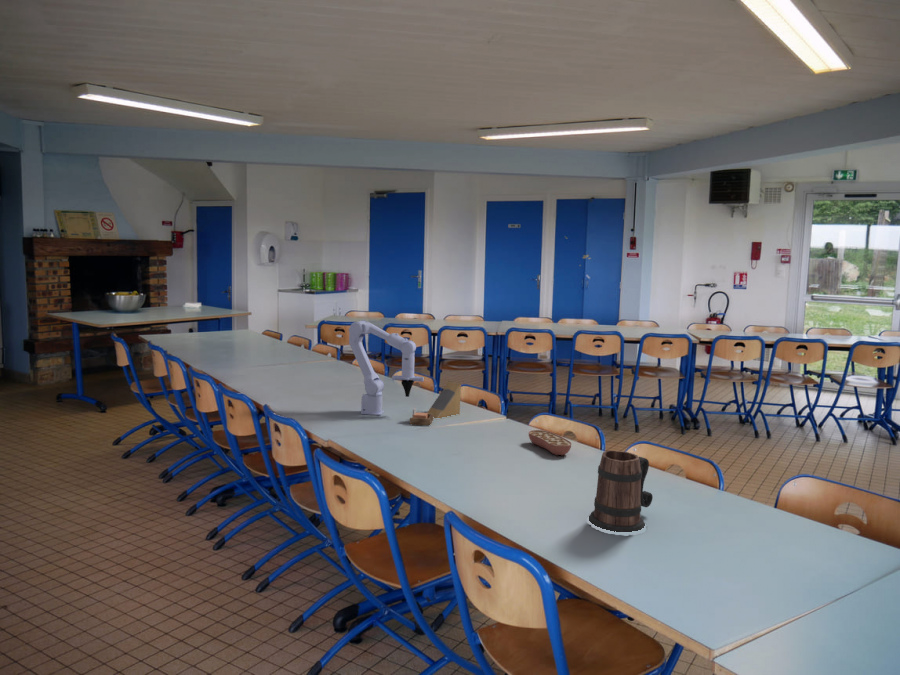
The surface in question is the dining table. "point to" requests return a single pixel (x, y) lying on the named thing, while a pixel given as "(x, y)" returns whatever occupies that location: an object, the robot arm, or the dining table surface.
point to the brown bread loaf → (550, 441)
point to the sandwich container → (447, 401)
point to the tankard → (620, 492)
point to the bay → (422, 420)
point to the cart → (419, 414)
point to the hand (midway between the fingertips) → (407, 396)
